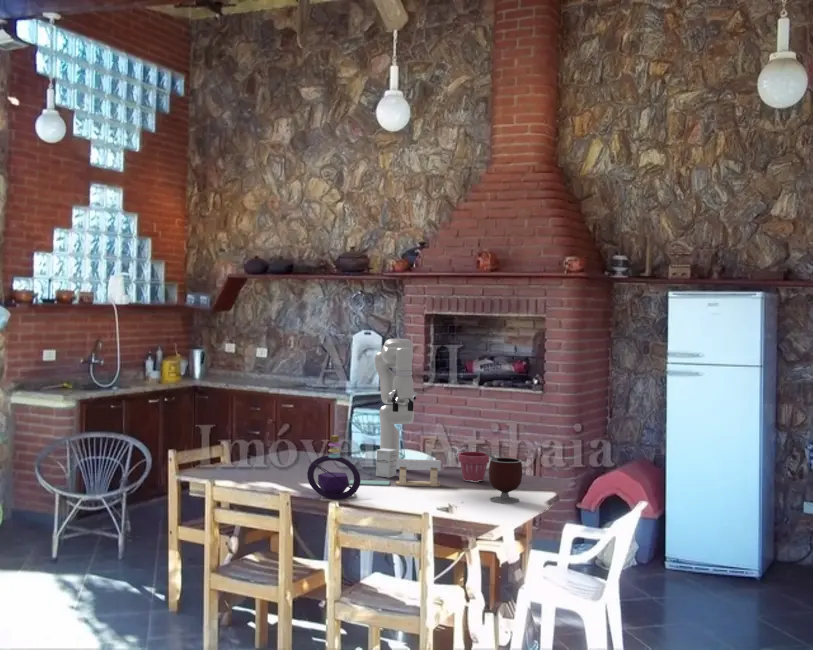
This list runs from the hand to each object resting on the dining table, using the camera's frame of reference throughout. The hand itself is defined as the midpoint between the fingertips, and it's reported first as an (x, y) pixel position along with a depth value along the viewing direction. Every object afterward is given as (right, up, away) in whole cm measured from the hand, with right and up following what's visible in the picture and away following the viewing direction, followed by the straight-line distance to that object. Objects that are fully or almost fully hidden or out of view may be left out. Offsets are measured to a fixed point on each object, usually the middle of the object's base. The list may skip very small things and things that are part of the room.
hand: (402, 411), depth 408 cm
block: (+7, -25, -10) cm, 28 cm away
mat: (-15, -32, -10) cm, 37 cm away
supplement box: (-8, -32, +10) cm, 35 cm away
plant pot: (+33, -33, +3) cm, 47 cm away
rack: (+7, -32, -10) cm, 34 cm away
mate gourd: (+42, -34, -41) cm, 67 cm away
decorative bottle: (-29, -32, -39) cm, 58 cm away
